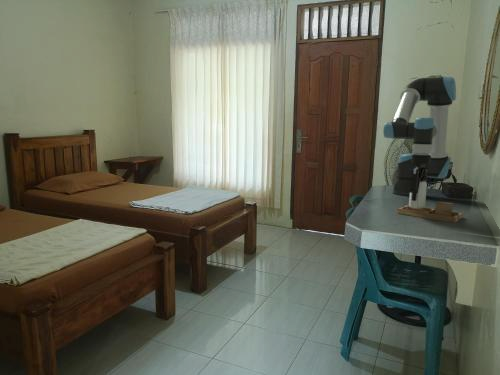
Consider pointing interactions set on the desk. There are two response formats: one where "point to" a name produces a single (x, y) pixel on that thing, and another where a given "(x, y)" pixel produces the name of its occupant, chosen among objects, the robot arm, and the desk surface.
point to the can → (420, 195)
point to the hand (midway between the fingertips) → (416, 206)
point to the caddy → (429, 214)
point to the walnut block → (444, 208)
